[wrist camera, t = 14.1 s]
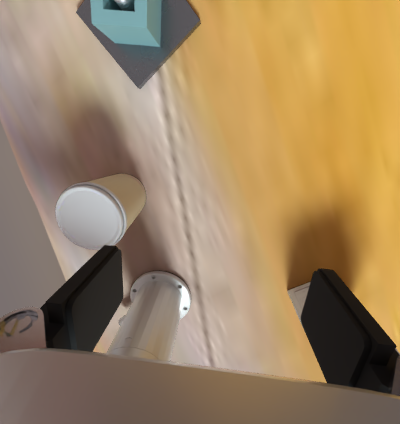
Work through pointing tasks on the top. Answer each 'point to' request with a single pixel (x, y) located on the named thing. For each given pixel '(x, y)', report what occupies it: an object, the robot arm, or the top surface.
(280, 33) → the top surface
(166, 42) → the shaft stand
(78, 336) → the robot arm
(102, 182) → the coffee cup
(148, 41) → the collar
